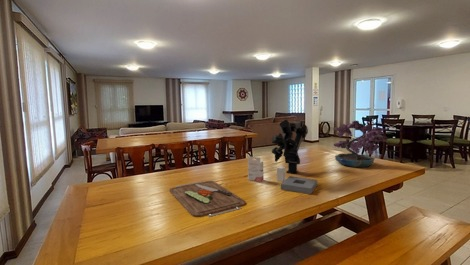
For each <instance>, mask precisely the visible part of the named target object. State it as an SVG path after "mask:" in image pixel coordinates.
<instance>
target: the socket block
mask: <svg viewBox="0 0 470 265" xmlns="http://www.w3.org/2000/svg"><path fill="white" fill-rule="evenodd" d="M317 186H318V179H314V178H306V177H298V176H292V175H290V176H288V177H286V178H285V181H284V182H281V183H280V190H282V191H288V192H294V193H295V192H296V193H302V194H307V195H311V194H312V193H313V192H314V190H315V189H316V187H317Z"/></svg>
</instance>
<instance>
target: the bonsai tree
mask: <svg viewBox="0 0 470 265" xmlns="http://www.w3.org/2000/svg"><path fill="white" fill-rule="evenodd" d="M351 129H354V130H355V131H360V132H361V133H362V135H359V136H358V137H355V138H354V139H352V140H351V139H350V138H351V137H352V136H353V134H352V130H351ZM333 130H335V131H336V132H337V133H336V135H337V137H340V138H341V137H342V136H344V135H345V134H348V136H349V137H350V138H346V139H345V140H339V141H338V142H336V143H333V147H335V148H336V147H337V148H338V149H339V148H341V149H345V150H347V151H348V152H349V153H339V154H336V155H335V156H334V157H335V161H336V162H338V164H340V165H341V166H345V167H351V168H368V167H370V166H371V165H372V164H373V163H374V162H375V159H376V158H375V157H372V156H369V155H373V154H374V153H375V151H376V150H377V149H379V148H380V146H379V144H377V143H376V144H375V143H373V142H383V143H385V142H387V141H388V137H387V136H383V134H384V133H385V132H384V128H383V127H380V126H376V127H373V128H372V125H371V124H366V125H364V123H360V121H359V120H353V121H351V122H350V123H347V124H345V123H343V124H342V125H340V126H339V127H338V126H334V127H333ZM381 135H382V136H381ZM360 149H364V150H365V151H367V154H369V155H367V154H360V152H361V151H360Z"/></svg>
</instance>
